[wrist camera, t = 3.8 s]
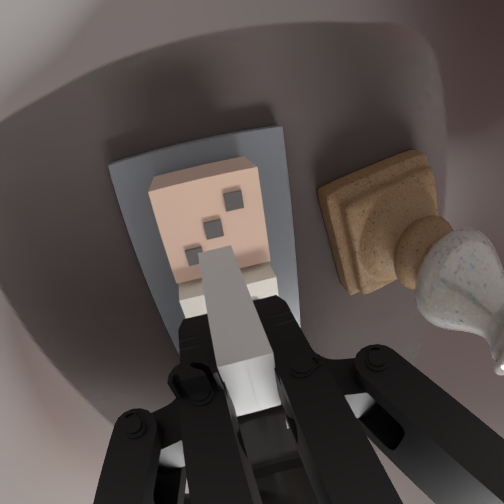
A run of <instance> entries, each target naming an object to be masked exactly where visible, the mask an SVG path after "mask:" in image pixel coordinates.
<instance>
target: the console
mask: <svg viewBox="0 0 504 504" xmlns="http://www.w3.org/2000/svg"><path fill="white" fill-rule="evenodd" d="M243 156H245V157H246V158H247V159H249V160H250V161H251V162H252V163H253V164H255V165H256V166H257V167H258V174H259V181H260V188H261V195H262V202H263V209H264V217H265V224H266V231H267V238H268V246H269V253H270V261H268V262H269V264H270V266H271V268H272V270H273V271H274V273H275V275H276V277H277V286H278V294H279V297H280V298H282V299H283V300H285V301H286V302H287V304H288V306H289V308H290V310H291V312H292V313H293V315H294V317H295V320H296V321H297V323H298V324H299V326H300V309H299V294H298V279H297V265H296V253H295V241H294V229H293V218H292V208H291V198H290V188H289V179H288V169H287V161H286V152H285V144H284V136H283V128H282V126H279V125H274V126H267V127H261V128H254V129H248V130H242V131H237V132H231V133H226V134H221V135H216V136H211V137H206V138H201V139H197V140H192V141H188V142H184V143H179V144H175V145H171V146H167V147H163V148H159V149H156V150H152V151H148V152H145V153H141V154H138V155H134V156H131V157H127V158H124V159H121V160H118V161H114V162H112V163H110V164H109V165H108V168H109V171H110V175H111V179H112V182H113V185H114V189H115V192H116V196H117V199H118V202H119V205H120V208H121V212H122V215H123V218H124V221H125V224H126V227H127V230H128V233H129V236H130V238H131V241H132V244H133V247H134V250H135V252H136V255H137V258H138V260H139V263H140V266H141V268H142V271H143V274H144V276H145V279H146V281H147V284H148V286H149V289H150V291H151V294H152V296H153V298H154V301H155V303H156V306H157V308H158V310H159V313H160V315H161V317H162V319H163V322H164V324H165V326H166V328H167V331H168V333H169V335H170V337H171V339H172V341H173V344H174V346H175V348H176V350H177V352H178V354H179V356H180V353H179V351H180V350H179V335H178V329H179V327H180V325H181V323H182V321H183V319H186V318H185V315H184V312H183V310H182V307H181V304H180V302H179V283H176V281H175V278H174V275H173V272H172V269H171V266H170V263H169V260H168V257H167V254H166V250H165V247H164V244H163V241H162V238H161V234H160V231H159V228H158V225H157V221H156V218H155V214H154V211H153V207H152V204H151V200H150V197H149V193H148V191H149V188H150V186H151V183H152V181H153V178H154V177H155V176H159V175H163V174H167V173H171V172H175V171H179V170H183V169H187V168H191V167H195V166H200V165H204V164H209V163H213V162H218V161H223V160H228V159H233V158H238V157H243ZM300 328H301V327H300Z"/></svg>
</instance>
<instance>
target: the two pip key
mask: <svg viewBox="0 0 504 504" xmlns="http://www.w3.org/2000/svg"><path fill="white" fill-rule="evenodd" d="M240 270H241V273H242V275H243V278H244V280H245V283H246V285H247V288H248V291H249V293H250V296H251V298H252V301H255V300H259V299H262V298H266V297H270V296H274V295H277V296H279V294H278V286H277V277H276V275H275V273H274V271H273V270H272V268H271V266H270V264H269V262H264V263H260V264H256V265H252V266H248V267H244V268H240ZM179 302H180V304H181V307H182V310H183V312H184V315H185V318H191V317H195V316H199V315H203V314H207V309H206V303H205V297H204V291H203V284H202V278H198V279H194V280H190V281H186V282H181V283H179Z"/></svg>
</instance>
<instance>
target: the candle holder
mask: <svg viewBox="0 0 504 504" xmlns="http://www.w3.org/2000/svg"><path fill="white" fill-rule="evenodd" d="M317 197H318V201H319V205H320V209H321V213H322V216H323V220H324V223H325V227H326V231H327V234H328V238H329V242H330V245H331V249H332V253H333V257H334V261H335V265H336V269H337V273H338V276H339V280H340V283H341V284H342V286H343V287H344V288H345V289H346V290H347V292H348V293H349V294H350V295H353V294H355V293H357V292H361V293H362V294H368V293H371V292H373V291H375V290H377V289H379V288H381V287H383V286H385V285H387V284H389V283H391V282H392V281H394V280H396V279H399V281H400V282H401V283H402V284H403V285H404V286H406V287H408V288H410V289H415V301H416V305H417V307H418V310H419V311H420V313H421V315H422V316H423V317H424V318H425V319H426V320H427V321H429V322H430V323H432V324H434V325H436V326H438V327H441V328H445V329H450V330H459V331H466V332H471V333H475V334H478V335H480V336H482V337H484V338H485V339H486V340H487V341H488V343H489V345H490V348H491V351H492V357H493V358H494V360H495V361H496V363H495V367H494V371H495V373H496V374H497V375H504V272H503V268H502V265H501V262H500V260H499V257H498V255H497V252H496V250H495V248H494V246H493V245H492V243H491V242H490V241H489V239H488V238H487V237H486V236H485V235H484V234H482V233H481V232H479V231H478V230H476V229H472V228H459V229H456V230H453V228H452V227H451V225H450V224H449V223H448V222H447V221H446V220H445V219H444V218H442V217H439V216H438V210H437V196H436V185H435V179H434V174H433V172H432V169H431V167H429V166H428V162H427V157H426V154H424V153H422V152H419V151H416V150H412V149H410V150H407V151H404V152H401V153H398V154H396V155H393V156H391V157H388V158H386V159H383V160H381V161H378V162H376V163H373V164H371V165H368V166H366V167H364V168H361V169H359V170H356V171H354V172H351V173H349V174H347V175H344V176H342V177H340V178H337V179H335V180H333V181H331V182H329V183H327V184H325V185H323V186H321V187H319V188H318V189H317Z"/></svg>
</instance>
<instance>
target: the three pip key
mask: <svg viewBox="0 0 504 504" xmlns="http://www.w3.org/2000/svg"><path fill="white" fill-rule="evenodd" d="M148 193H149V197H150V200H151V204H152V207H153V211H154V214H155V218H156V221H157V225H158V228H159V231H160V234H161V238H162V241H163V244H164V247H165V250H166V254H167V257H168V260H169V263H170V266H171V269H172V272H173V275H174V278H175V281H176V283H181V282H186V281H190V280H194V279H198V278H201V271H200V265H199V258H198V253H201V252H205V251H209V250H213V249H217V248H221V247H225V246H229V245H231V247H232V249H233V252H234V255H235V257H236V260H237V262H238V265H239V267H240V268H244V267H248V266H252V265H256V264H260V263H264V262H268V261H270V253H269V246H268V238H267V231H266V224H265V217H264V209H263V202H262V195H261V188H260V181H259V174H258V167H257V166H256V165H255V164H253V163H252V162H251V161H250V160H249V159H247V158H246V157H245V156H243V157H238V158H233V159H228V160H223V161H218V162H213V163H209V164H204V165H200V166H195V167H191V168H187V169H183V170H179V171H175V172H171V173H167V174H163V175H159V176H155V177H154V178H153V181H152V183H151V186H150V188H149V191H148Z"/></svg>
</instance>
